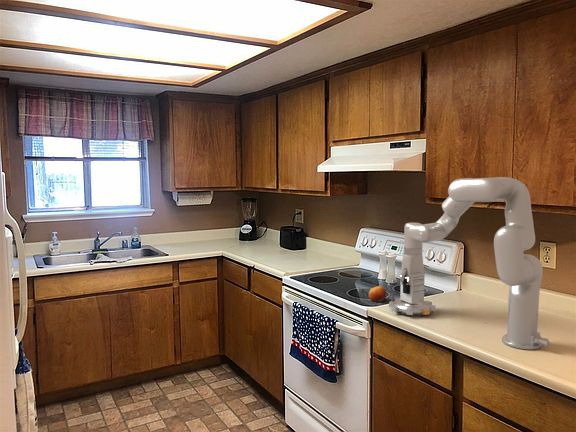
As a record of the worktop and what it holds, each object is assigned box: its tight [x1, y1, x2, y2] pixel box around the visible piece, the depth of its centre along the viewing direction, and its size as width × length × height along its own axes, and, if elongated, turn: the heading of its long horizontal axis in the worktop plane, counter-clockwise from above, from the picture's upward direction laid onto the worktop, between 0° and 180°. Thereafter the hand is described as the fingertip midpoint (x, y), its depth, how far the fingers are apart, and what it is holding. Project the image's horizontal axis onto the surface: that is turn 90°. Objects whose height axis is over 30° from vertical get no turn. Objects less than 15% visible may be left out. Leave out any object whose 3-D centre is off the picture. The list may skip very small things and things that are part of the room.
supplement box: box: [399, 272, 426, 304], centre depth 200 cm, size 7×7×13 cm
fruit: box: [368, 285, 387, 303], centre depth 218 cm, size 8×8×8 cm
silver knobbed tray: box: [388, 297, 437, 316], centre depth 200 cm, size 19×19×7 cm
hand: (412, 291), depth 200 cm, fingers closed on supplement box, 8 cm apart
